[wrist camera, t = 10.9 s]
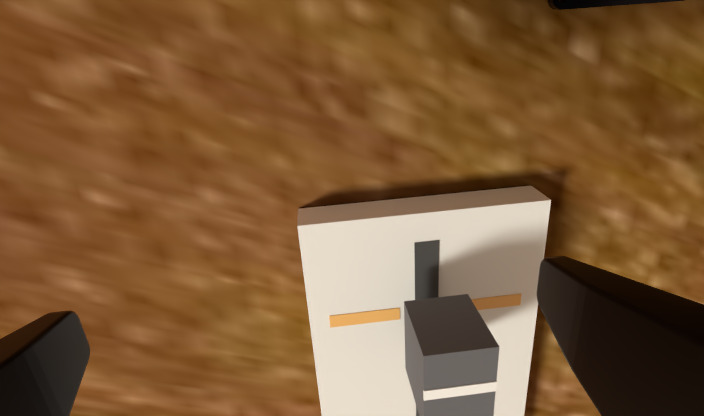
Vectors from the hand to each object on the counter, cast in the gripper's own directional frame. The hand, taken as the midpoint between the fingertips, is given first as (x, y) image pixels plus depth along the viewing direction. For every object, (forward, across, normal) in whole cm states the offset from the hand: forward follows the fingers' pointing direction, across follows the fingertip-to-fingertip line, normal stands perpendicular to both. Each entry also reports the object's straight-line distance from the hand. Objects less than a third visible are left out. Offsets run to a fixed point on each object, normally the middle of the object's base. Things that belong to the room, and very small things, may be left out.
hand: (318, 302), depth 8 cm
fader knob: (+11, -5, +9) cm, 15 cm away
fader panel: (+13, -5, +14) cm, 20 cm away
